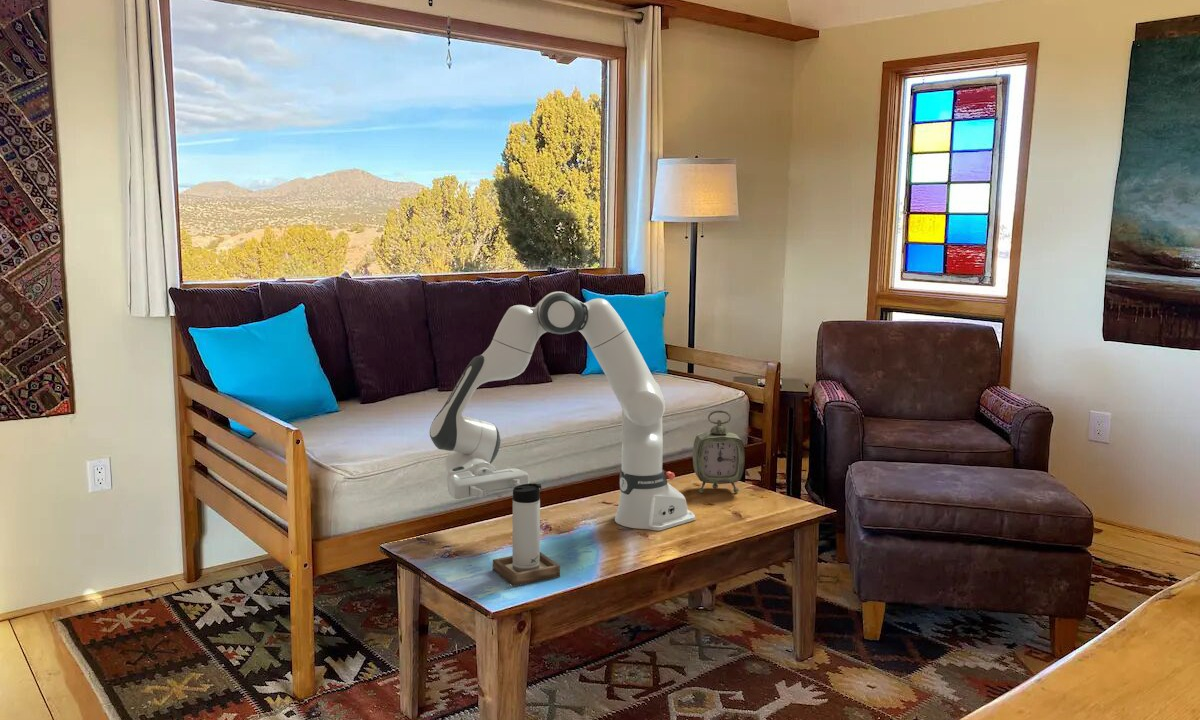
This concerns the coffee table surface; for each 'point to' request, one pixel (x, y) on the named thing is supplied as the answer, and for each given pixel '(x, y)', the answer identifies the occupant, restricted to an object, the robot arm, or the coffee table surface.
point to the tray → (513, 577)
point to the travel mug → (526, 527)
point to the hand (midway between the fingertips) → (502, 491)
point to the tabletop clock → (718, 455)
